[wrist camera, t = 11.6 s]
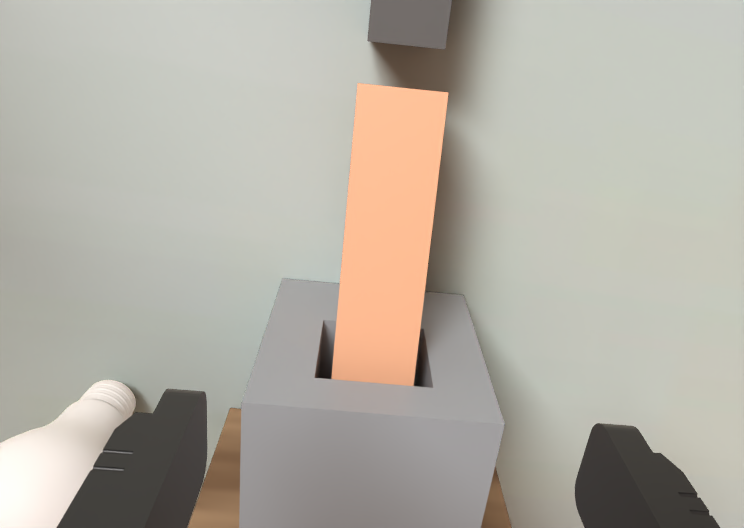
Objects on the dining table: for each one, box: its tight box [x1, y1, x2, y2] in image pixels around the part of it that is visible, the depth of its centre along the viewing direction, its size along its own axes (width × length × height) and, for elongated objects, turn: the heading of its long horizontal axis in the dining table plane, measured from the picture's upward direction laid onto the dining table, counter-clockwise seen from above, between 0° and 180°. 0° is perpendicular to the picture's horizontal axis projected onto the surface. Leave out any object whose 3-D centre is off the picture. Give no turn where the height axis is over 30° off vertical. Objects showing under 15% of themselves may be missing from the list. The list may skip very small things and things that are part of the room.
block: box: [239, 278, 505, 528], centre depth 26 cm, size 8×9×10 cm
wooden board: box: [188, 408, 512, 528], centre depth 28 cm, size 2×14×10 cm, turn 85°
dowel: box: [331, 83, 448, 386], centre depth 24 cm, size 16×3×3 cm, turn 174°
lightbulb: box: [0, 380, 136, 528], centre depth 27 cm, size 6×6×11 cm
